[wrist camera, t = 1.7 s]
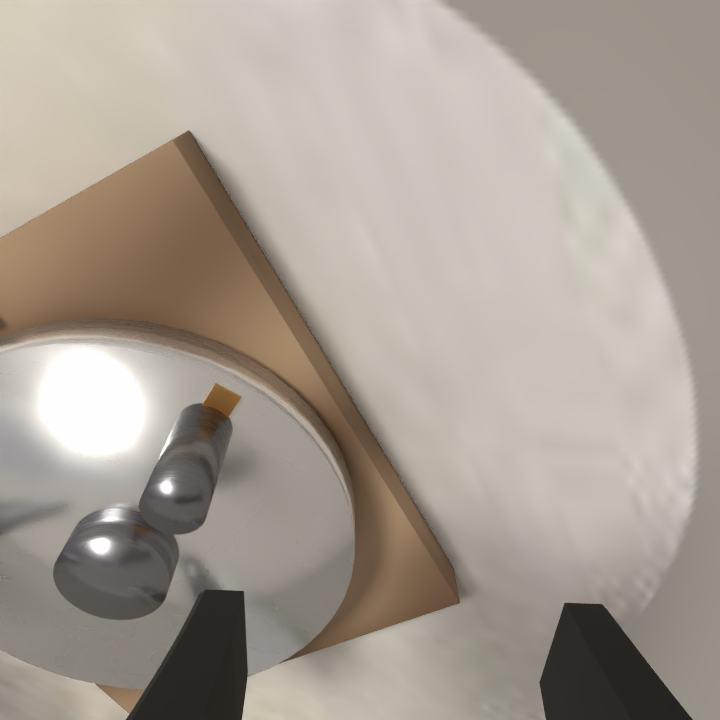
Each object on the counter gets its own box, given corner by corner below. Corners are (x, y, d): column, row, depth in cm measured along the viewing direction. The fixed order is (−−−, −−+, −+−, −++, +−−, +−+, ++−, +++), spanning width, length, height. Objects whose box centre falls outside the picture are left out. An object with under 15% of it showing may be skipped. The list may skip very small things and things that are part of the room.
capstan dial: (-4, 220, 14) (-139, 295, 10) (440, 462, 18) (464, 587, 14) (-130, 556, 20) (-253, 690, 16) (232, 693, 23) (207, 831, 19)
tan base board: (-207, 355, 18) (-264, 389, 16) (188, 130, 15) (167, 143, 13) (140, 677, 25) (125, 723, 24) (453, 568, 22) (461, 612, 21)
